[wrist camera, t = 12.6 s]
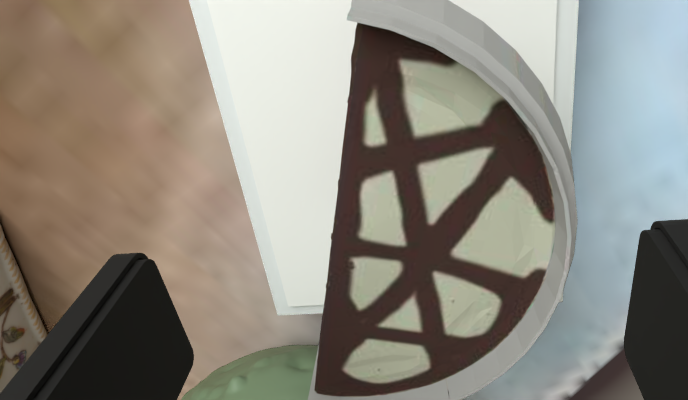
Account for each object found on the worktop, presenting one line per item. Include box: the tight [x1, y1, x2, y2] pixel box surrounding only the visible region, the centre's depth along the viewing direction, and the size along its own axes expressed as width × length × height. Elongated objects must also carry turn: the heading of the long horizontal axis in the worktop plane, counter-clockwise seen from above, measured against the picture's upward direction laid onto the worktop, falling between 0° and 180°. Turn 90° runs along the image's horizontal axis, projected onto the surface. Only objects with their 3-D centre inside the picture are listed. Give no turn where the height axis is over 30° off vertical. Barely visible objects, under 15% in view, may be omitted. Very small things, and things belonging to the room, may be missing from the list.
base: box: [189, 0, 579, 315], centre depth 23 cm, size 14×20×4 cm
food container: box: [308, 0, 577, 400], centre depth 16 cm, size 12×6×10 cm, turn 174°
